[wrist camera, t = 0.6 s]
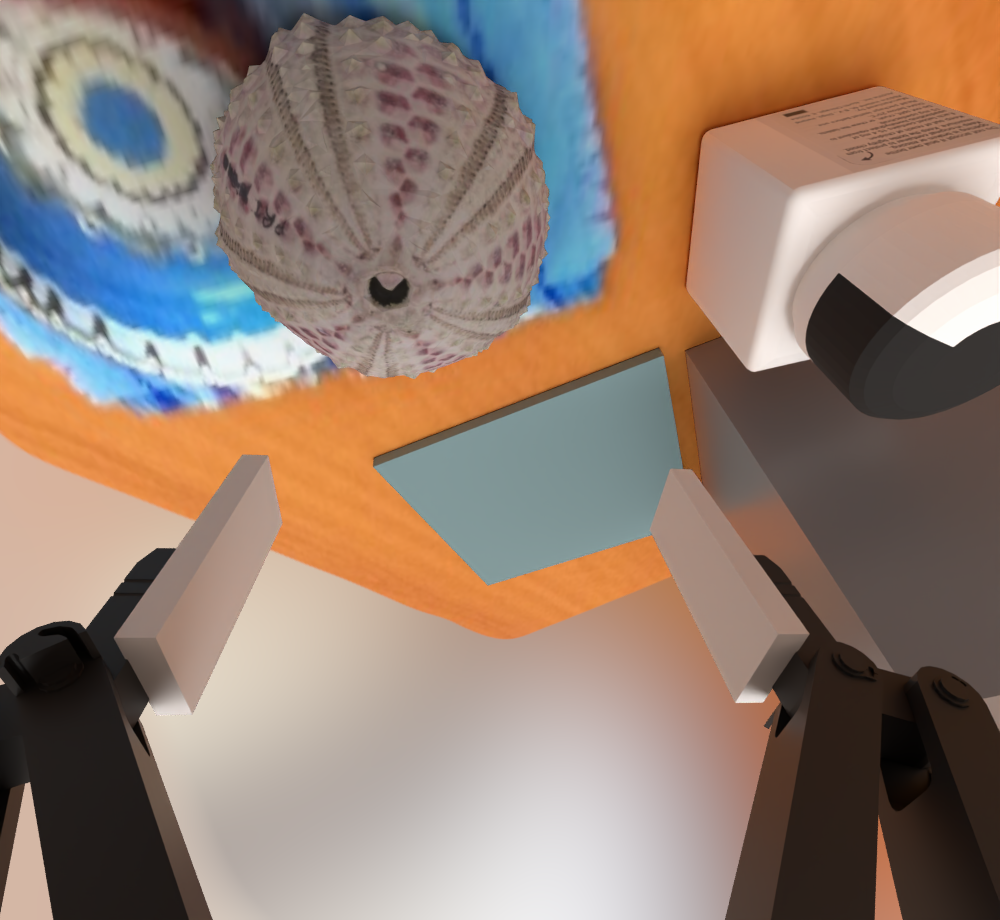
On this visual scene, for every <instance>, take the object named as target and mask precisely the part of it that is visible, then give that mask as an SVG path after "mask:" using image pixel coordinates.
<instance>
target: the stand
mask: <svg viewBox="0 0 1000 920" xmlns="http://www.w3.org/2000/svg"><path fill="white" fill-rule="evenodd" d="M685 353H686V361H687V369H688V376H689V384H690V392H691V400H692V408H693V415H694V423H695V431H696V439H697V447H698V454H699V462H700V470H701V478H702V485H703V486H704V487H705V489H706V490H707V491H708V493H709V494H710V496H711V497H712V498H713V500H714V501H715V503H716V504H717V505H718V507H719V508H720V510H721V511H722V512H723V514H724V515H725V517H726V518H727V519H728V521H729V522H730V524H731V525H732V526H733V528H734V529H735V531H736V532H737V533H738V535H739V536H740V538H741V539H742V540H743V542H744V543H745V545H746V546H747V547H748V549H749V550H750V551H751V553H752V554H753V555H765V556H766V557H768V558H769V559H770V560H771V561H773V562H774V563H775V564H776V565H778V566H779V567H780V568H781V569H782V570H783V572H784V573H785V574H786V576H787V577H788V578H789V579H790V581H791V582H792V585H794V586H795V587H796V589H797V590H798V591H799V593H800V594H801V597H803V598H804V599H805V601H806V602H807V603H808V604H809V606H810V607H811V608H812V610H813V611H814V612H815V614H816V615H817V616H818V618H819V619H820V620H821V622H822V623H823V624H824V626H825V627H826V628H827V629H828V631H829V632H830V633H831V635H832V636H833V637H834V639H835V640H836V641H837V642H842V643H845V644H847V645H850V646H852V647H854V648H856V649H857V650H859V651H861V652H862V653H864V654H865V655H866V656H867V657H868V658H869V659H870V660H872V661H873V662H874V663H875V665H876V666H877V668H879V669H883V670H887V671H890V672H894V673H898V674H902V675H905V676H909V677H912V676H913V675H914V674H915V673H916V672H917V671H918V670H919V669H920V668H921V667H926V666H933V667H938V668H942V669H944V670H946V671H949V672H951V673H953V674H955V675H957V676H958V677H960V678H961V679H963V680H964V681H966V682H967V683H968V684H970V685H971V686H972V687H973V688H974V689H975V690H976V691H977V692H978V693H979V694H980V695H981V697H982V698H983V700H984V701H985V703H986V704H987V706H988V708H989V710H990V712H991V714H992V716H993V718H994V721H995V723H996V725H997V727H998V729H999V731H1000V385H999V386H997V387H995V388H993V389H992V390H990V391H988V392H986V393H984V394H982V395H980V396H978V397H976V398H974V399H972V400H970V401H968V402H966V403H963V404H961V405H959V406H956V407H954V408H951V409H948V410H946V411H943V412H939V413H936V414H933V415H929V416H925V417H920V418H914V419H902V420H896V419H884V418H876V417H871V416H868V415H866V414H863V413H861V412H860V411H859V410H858V409H856V408H855V407H854V406H853V405H852V403H851V402H850V401H849V400H848V399H847V398H846V397H845V396H844V395H843V394H842V393H841V392H840V391H839V390H838V388H837V387H836V386H835V385H834V384H833V383H832V382H831V381H830V380H829V379H828V378H827V377H826V376H825V374H824V373H823V372H822V371H821V370H820V369H819V368H818V367H817V366H816V365H815V364H814V363H813V362H812V361H811V359H809V360H805V361H800V362H796V363H792V364H787V365H783V366H778V367H774V368H769V369H765V370H761V371H756V372H752V371H750V370H748V369H747V368H746V367H745V366H744V365H743V363H742V362H741V361H740V359H739V358H738V357H737V355H736V354H735V353H734V351H733V350H732V349H731V348H730V346H729V345H728V344H727V342H726V341H725V340H724V338H723V337H720V338H717V339H715V340H712V341H710V342H707V343H704V344H702V345H699V346H696V347H694V348H691V349H689V350H686V351H685Z"/></svg>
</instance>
